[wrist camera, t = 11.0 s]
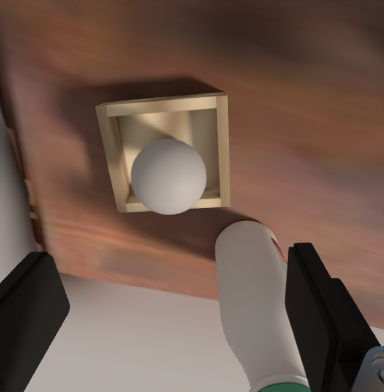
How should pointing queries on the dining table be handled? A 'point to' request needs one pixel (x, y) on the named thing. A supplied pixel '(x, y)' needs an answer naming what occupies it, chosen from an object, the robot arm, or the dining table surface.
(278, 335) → the milk bottle
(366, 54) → the dining table surface
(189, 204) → the lightbulb
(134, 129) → the holder
